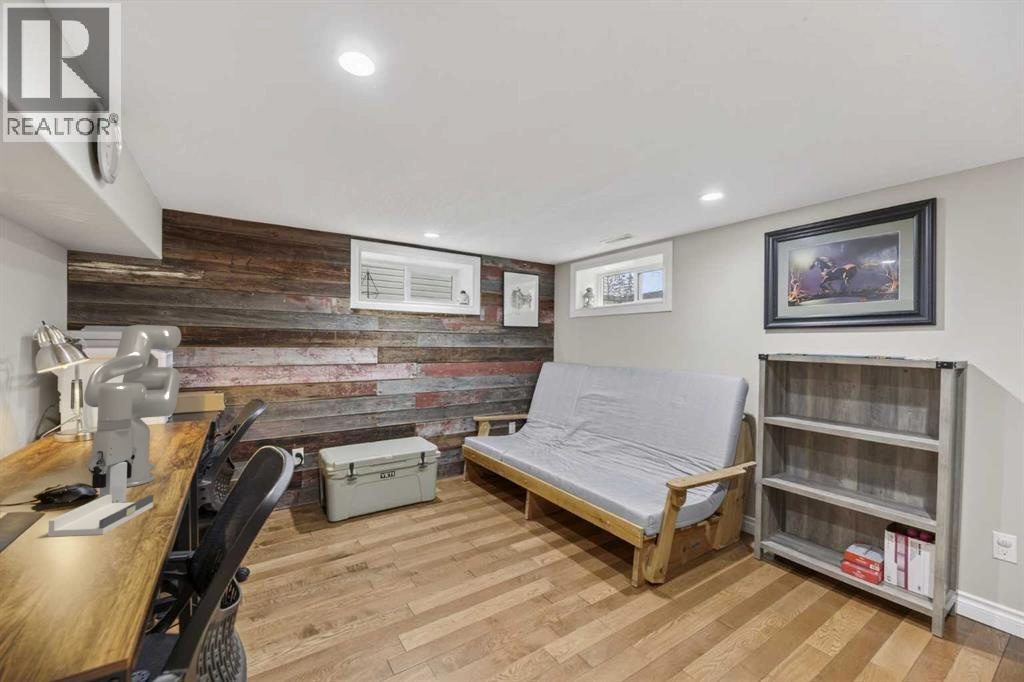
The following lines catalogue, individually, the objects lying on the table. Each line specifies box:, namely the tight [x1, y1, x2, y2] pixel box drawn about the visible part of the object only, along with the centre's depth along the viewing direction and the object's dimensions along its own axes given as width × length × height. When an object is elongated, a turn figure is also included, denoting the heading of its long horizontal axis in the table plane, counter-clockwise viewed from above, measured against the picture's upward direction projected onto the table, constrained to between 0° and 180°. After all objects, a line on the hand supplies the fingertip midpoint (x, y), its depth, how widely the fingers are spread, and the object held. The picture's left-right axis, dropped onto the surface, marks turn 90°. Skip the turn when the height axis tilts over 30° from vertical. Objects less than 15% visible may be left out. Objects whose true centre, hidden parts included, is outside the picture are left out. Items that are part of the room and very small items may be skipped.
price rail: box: [99, 494, 154, 529], centre depth 114 cm, size 18×1×2 cm, turn 9°
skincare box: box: [99, 462, 128, 503], centre depth 126 cm, size 6×4×12 cm
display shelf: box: [47, 495, 154, 538], centre depth 114 cm, size 18×12×4 cm, turn 9°
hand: (112, 482), depth 126 cm, fingers open, 9 cm apart
